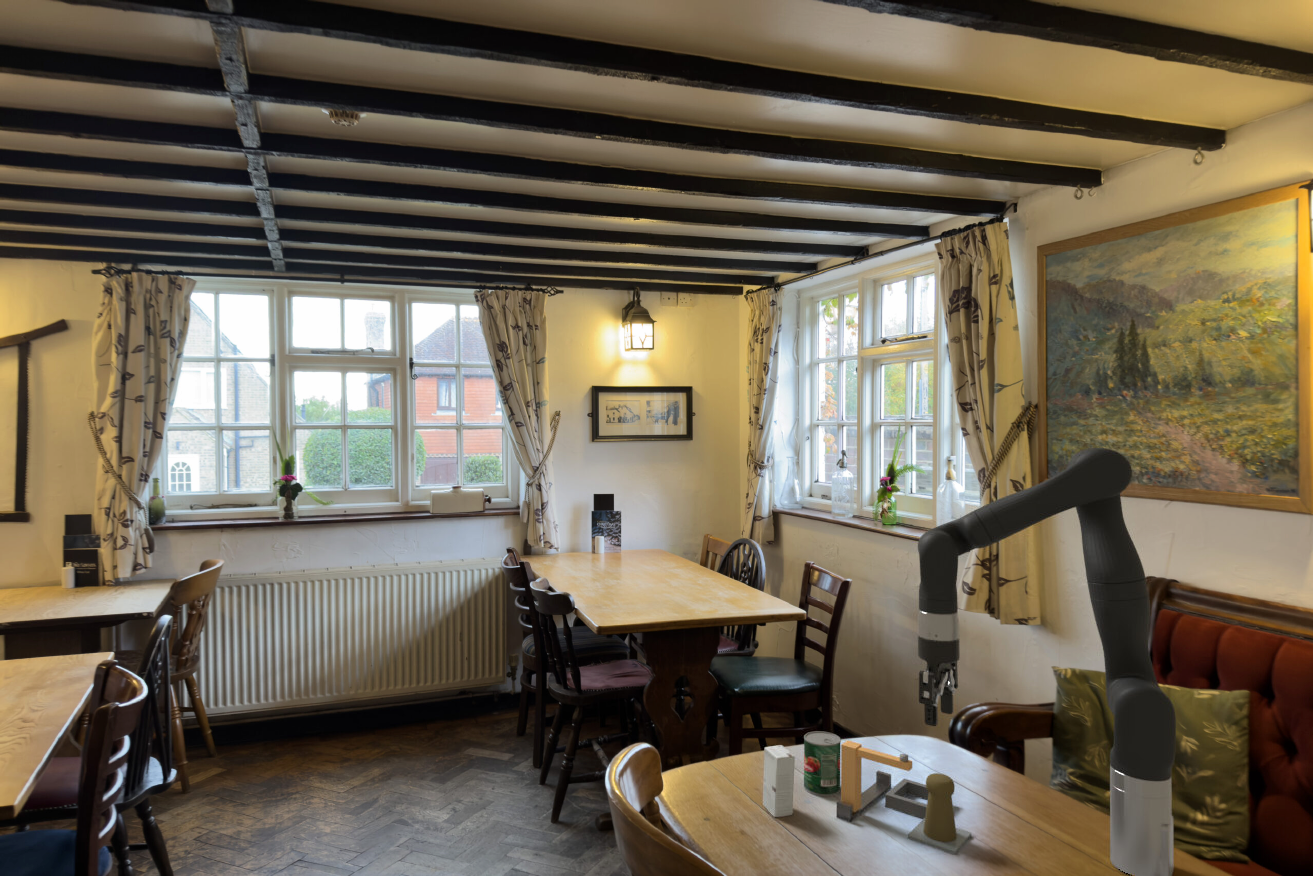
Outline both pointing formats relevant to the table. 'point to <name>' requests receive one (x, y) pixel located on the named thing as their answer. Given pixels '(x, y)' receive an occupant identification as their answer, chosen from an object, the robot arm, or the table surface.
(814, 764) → the canned tomato
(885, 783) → the rail
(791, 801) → the skincare box
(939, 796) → the cork
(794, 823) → the table surface
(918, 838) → the coaster
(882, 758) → the orange angled bracket
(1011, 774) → the table surface
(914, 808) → the socket
